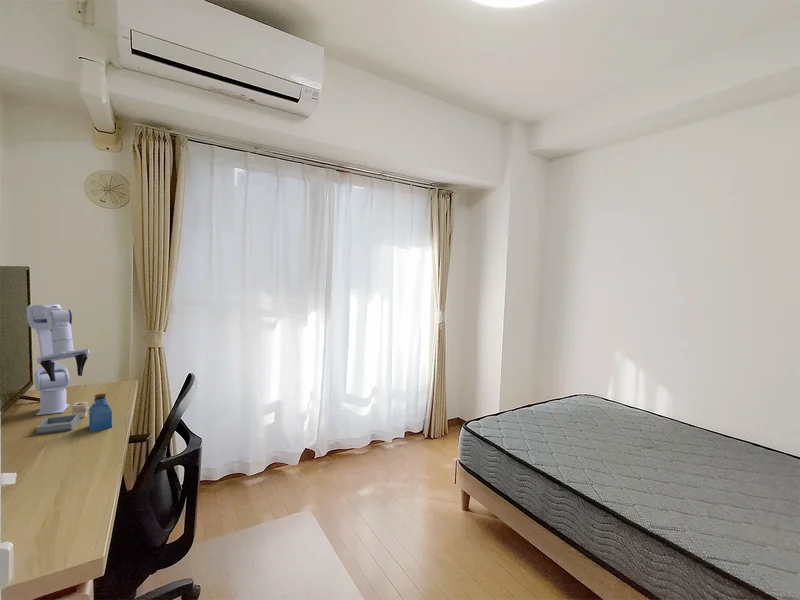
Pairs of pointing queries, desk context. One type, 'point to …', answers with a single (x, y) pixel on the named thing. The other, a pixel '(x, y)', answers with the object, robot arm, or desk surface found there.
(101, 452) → the desk surface
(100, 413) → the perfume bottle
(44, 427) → the tray
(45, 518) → the desk surface
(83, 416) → the bored block
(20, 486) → the desk surface
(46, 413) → the robot arm
